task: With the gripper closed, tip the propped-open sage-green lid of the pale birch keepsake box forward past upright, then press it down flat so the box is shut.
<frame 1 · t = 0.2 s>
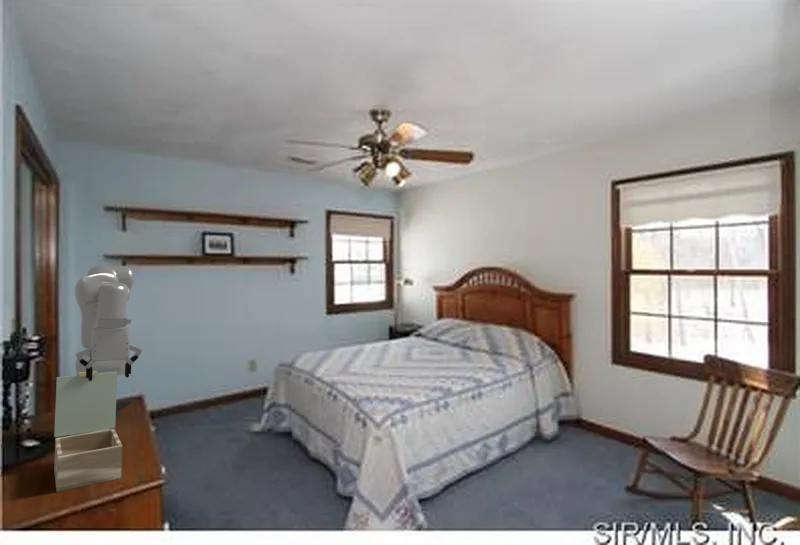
hand: (108, 378, 138), 31 cm above the dresser, fingers open, 9 cm apart
lid: (87, 402, 148), point 20 cm above the dresser, hinge at 95.0°
sculpture: (111, 413, 198), on the dresser
box: (87, 473, 140), on the dresser
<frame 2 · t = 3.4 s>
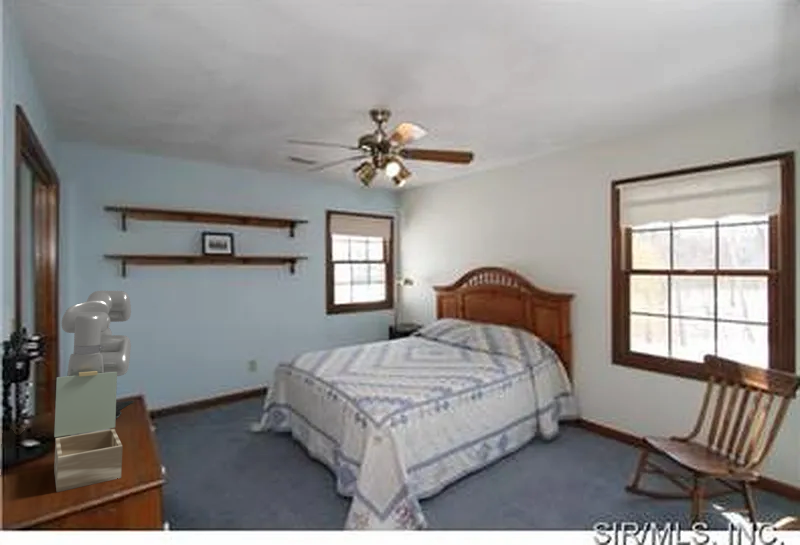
hand: (84, 402, 154), 18 cm above the dresser, fingers closed
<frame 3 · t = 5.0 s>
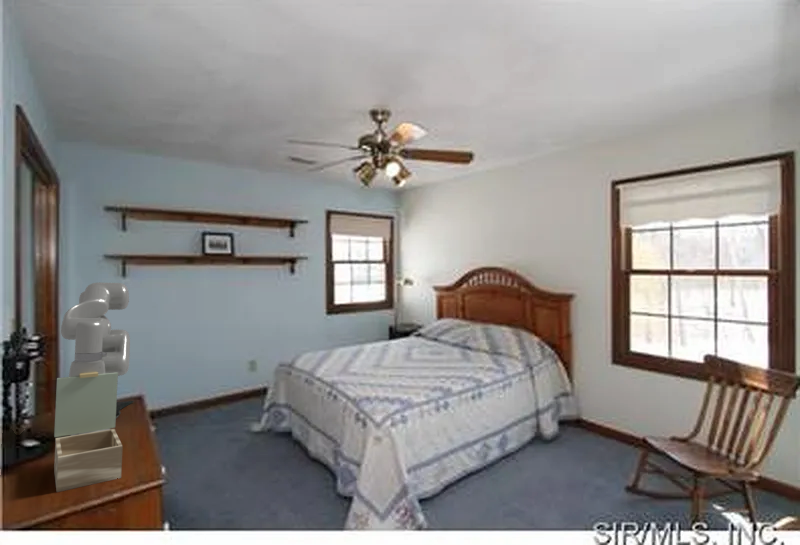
hand: (85, 411, 149), 17 cm above the dresser, fingers closed
lid: (87, 402, 147), point 20 cm above the dresser, hinge at 88.7°, touching gripper
everything else where it was.
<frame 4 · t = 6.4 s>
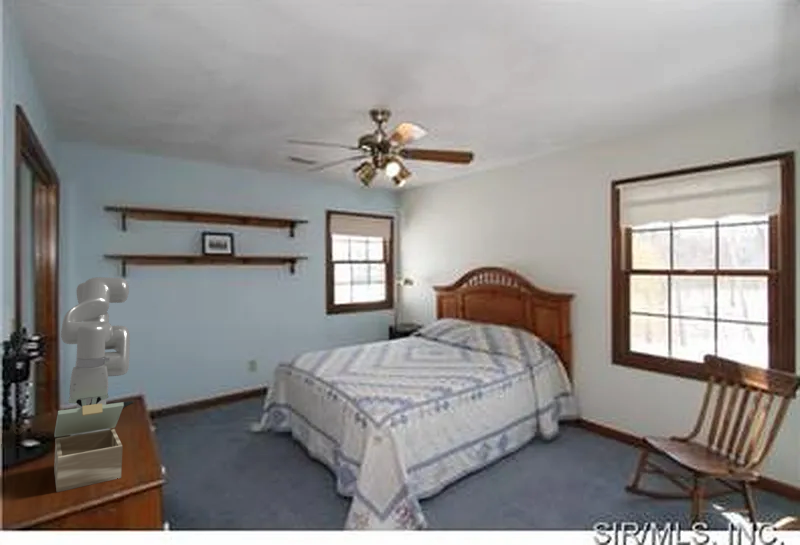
hand: (87, 418, 144), 16 cm above the dresser, fingers closed
lid: (89, 421, 141), point 16 cm above the dresser, hinge at 37.2°, touching gripper
everything else where it was.
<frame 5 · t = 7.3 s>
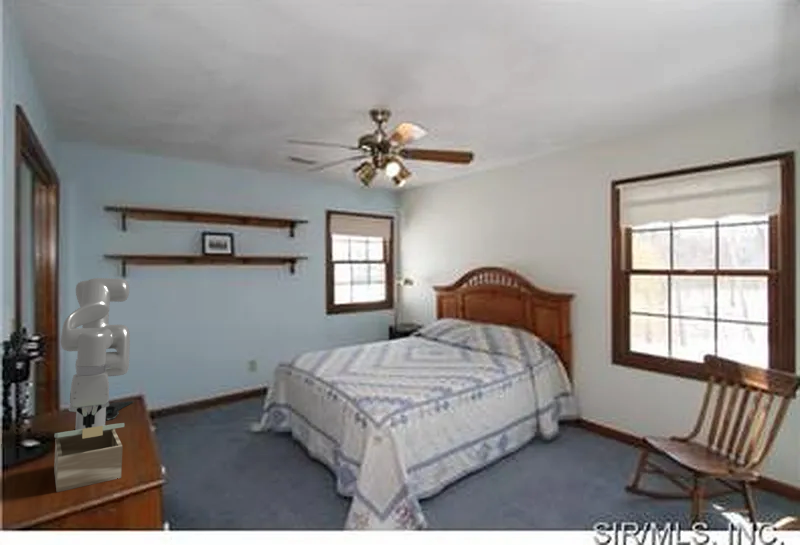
hand: (88, 426, 142), 14 cm above the dresser, fingers closed
lid: (89, 432, 140), point 13 cm above the dresser, hinge at 17.1°, touching gripper
everything else where it was.
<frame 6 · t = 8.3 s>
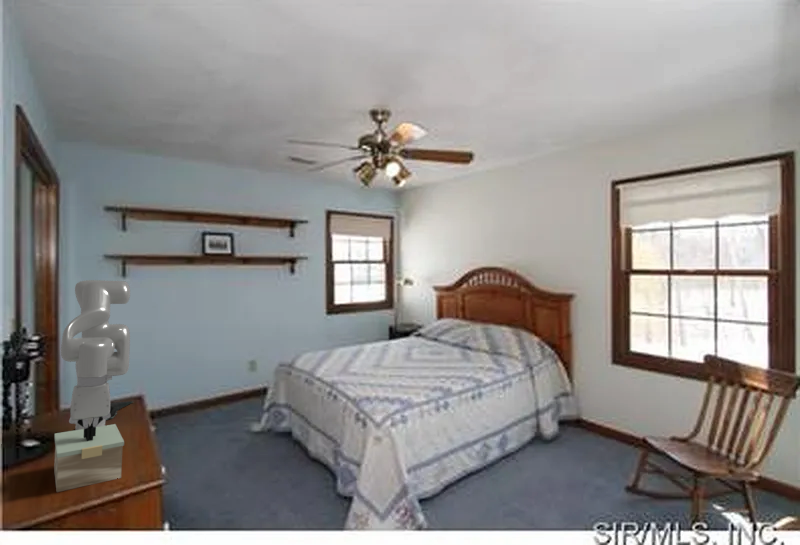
hand: (89, 439, 139), 12 cm above the dresser, fingers closed
lid: (88, 441, 140), point 10 cm above the dresser, hinge at -0.1°, touching gripper
everything else where it was.
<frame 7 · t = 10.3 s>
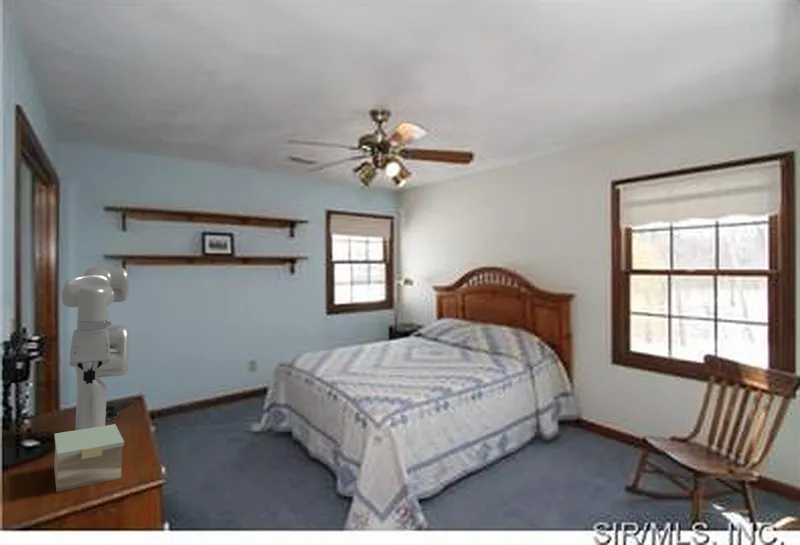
hand: (89, 382, 142), 29 cm above the dresser, fingers closed
lid: (88, 441, 140), point 10 cm above the dresser, hinge at -0.2°
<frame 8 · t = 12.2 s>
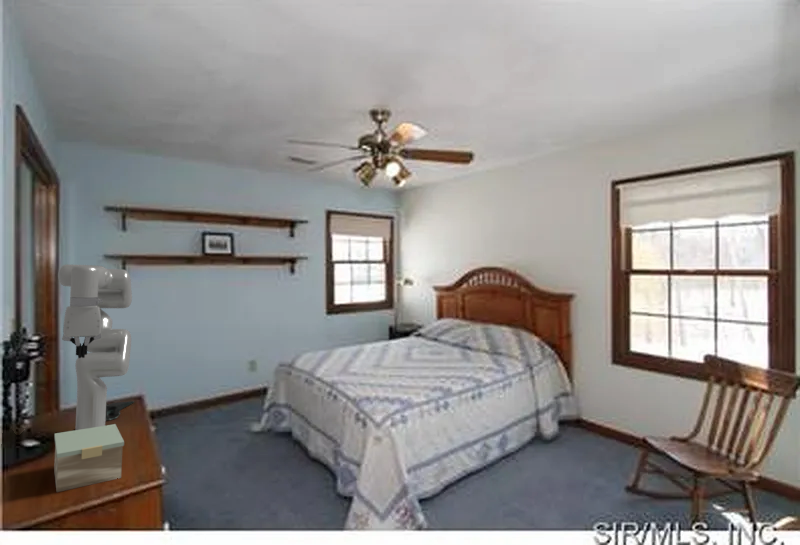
hand: (81, 357, 148), 35 cm above the dresser, fingers closed
at the end: lid at +0° (first picture: +95°); box tilted 0° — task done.
